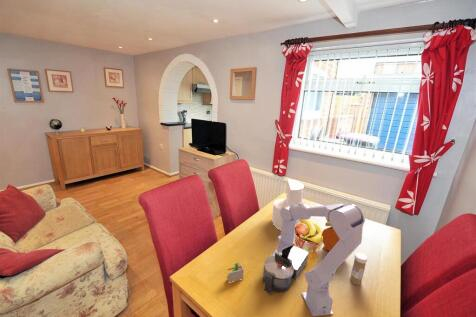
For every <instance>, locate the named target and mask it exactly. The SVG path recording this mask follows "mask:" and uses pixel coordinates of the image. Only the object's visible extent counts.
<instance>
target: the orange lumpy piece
mask: <svg viewBox="0 0 476 317" xmlns="http://www.w3.org/2000/svg"><path fill="white" fill-rule="evenodd" d="M325 227H327V228H324V229H323V230H322V232H321V237H322V236H323V241H322V240H321V242H322V243H323V247H322V250H324V251H325V252H326V251H328V253H329V252H330V251H331V249H332V248H333V247H334V246H335V245H336V243H337V242H338V241H339V240H340V239H339V237H338V235H337V234H336V232H335V230H334V229H333V227H332V225H331V223H330V222H327V221H325Z"/></svg>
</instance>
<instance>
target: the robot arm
mask: <svg viewBox="0 0 476 317" xmlns="http://www.w3.org/2000/svg"><path fill="white" fill-rule="evenodd" d="M280 215H281V218H282V227H281V231H280V235H278V236H277V239H278V240H279V242H278V246H277V247H276V249H277V252H279V253H282V255H283V256H285V257H287V258H288V256H289V253H290V251H291V249H292V247H293V246H295V244H294V243H295V238H296V231H295V224H296V221H297V220H300V221H301V220H309V219H310V218H311V217H322V218H325V220H326V222H330V223H331V225H332V227H333V229H334V230H335V232H336V234H337V235H338V237H339V239H340V240H339V241H338V242H337V243H336V245H335V246H334V247H333V248H332V249H331V251H330V252H329V251H328V253H327V254H326V255H325V257H324V258H323V259H322V260H321V261H320V262H319V264H318V265H316V266H315V267H313V268H312V269H310V270H309V271H306V272H305V275H304V276H305V277H304V278H305V281H306V283H307V289H306V291H304V292H301V295H302V297H303V299H304V301H305V303H306V305H307V308H308V309H309V312H310V314H311V315H312V317H319V316H327V315H333V310H332V308H333V302H334V301H333V297H332V296H331V294H330V290H329V286H330V281H333V279H335V273H336V272H337V269H338V268H339V267H340V266H341V265H342V264H343V263H344V262H345V261H346V260H347V259H348V258H349V256H351V255H352V254H353V252H355V250H356V249H357V248H358V247H359V246H360V245H361V244H362V241H363V240H362V239H363V227H364V224H365V222H366V218H365V216H364V213H363V211H362V210H361V208H360V207H359V205H357V204H353V203H348V204H346V203H337V204H336V203H335V204H326V205H319V206H309V205H308V204H304V203H303V202H302V203H300V204H298V205H294V204H292V205H290V206H287V207H283V208H282V209H281V210H280Z"/></svg>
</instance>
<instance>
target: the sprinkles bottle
mask: <svg viewBox="0 0 476 317" xmlns="http://www.w3.org/2000/svg"><path fill="white" fill-rule="evenodd" d="M367 261H368V257H367V256H366V254H364V253H362V252H356V253H354V259H353V266H352V268H351V275H350V277H349V281H350V282H351V283H352V284H354V285H356V286H361V285H362V280H363V277H364V274H365V270H366V266H367V265H366V264H367Z"/></svg>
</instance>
